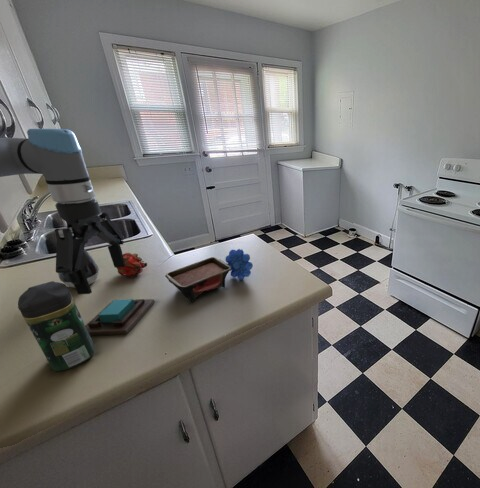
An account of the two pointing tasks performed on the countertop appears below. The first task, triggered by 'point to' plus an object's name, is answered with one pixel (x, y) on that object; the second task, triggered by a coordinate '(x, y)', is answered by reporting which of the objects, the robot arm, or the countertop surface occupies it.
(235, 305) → the countertop surface
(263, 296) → the countertop surface
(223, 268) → the rectangular planter
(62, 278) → the black rounded piece
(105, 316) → the pad
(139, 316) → the back plate
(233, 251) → the blue lumpy round piece
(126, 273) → the dragon fruit
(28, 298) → the coffee jar
